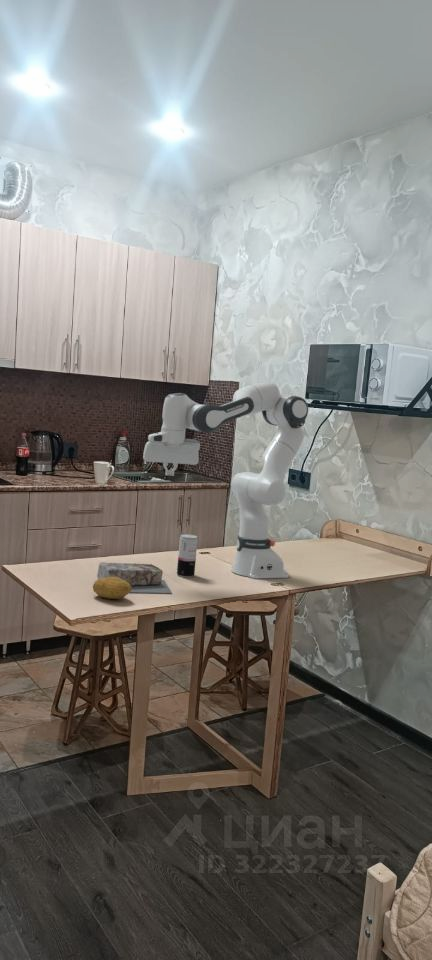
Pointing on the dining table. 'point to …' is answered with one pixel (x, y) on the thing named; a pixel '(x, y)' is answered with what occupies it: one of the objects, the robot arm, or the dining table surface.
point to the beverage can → (187, 555)
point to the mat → (152, 588)
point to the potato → (111, 587)
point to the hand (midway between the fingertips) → (169, 475)
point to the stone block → (131, 573)
